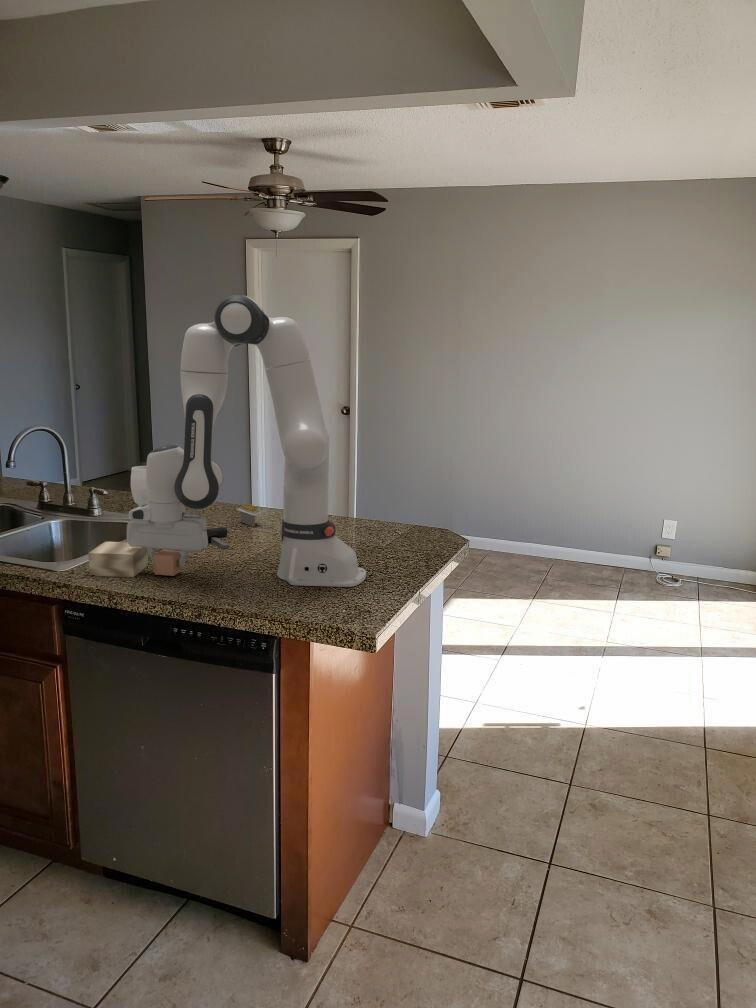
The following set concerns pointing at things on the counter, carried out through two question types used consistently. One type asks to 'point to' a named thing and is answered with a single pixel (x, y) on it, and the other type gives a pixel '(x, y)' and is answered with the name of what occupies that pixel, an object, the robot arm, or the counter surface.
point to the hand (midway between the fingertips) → (168, 565)
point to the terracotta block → (167, 562)
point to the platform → (248, 514)
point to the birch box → (117, 560)
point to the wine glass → (139, 485)
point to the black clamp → (215, 534)
